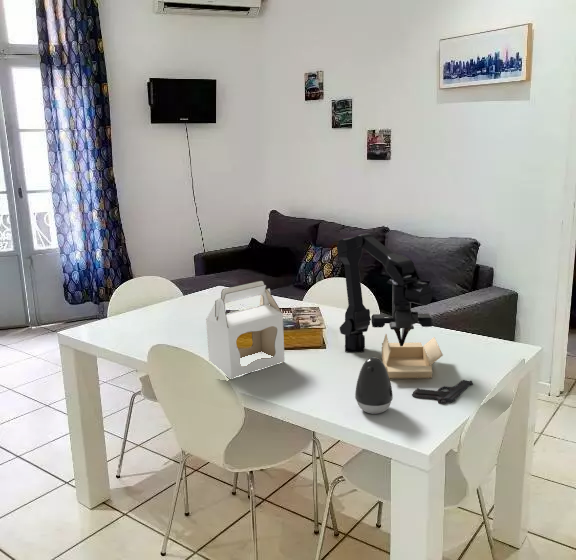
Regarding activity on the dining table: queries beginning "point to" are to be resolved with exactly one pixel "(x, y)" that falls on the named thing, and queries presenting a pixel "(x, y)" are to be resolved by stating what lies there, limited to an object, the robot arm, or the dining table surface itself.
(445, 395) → the handgun
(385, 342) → the flap
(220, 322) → the gable box
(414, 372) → the carton
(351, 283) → the robot arm
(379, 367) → the dark grey egg device
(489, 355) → the dining table surface
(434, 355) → the flap
